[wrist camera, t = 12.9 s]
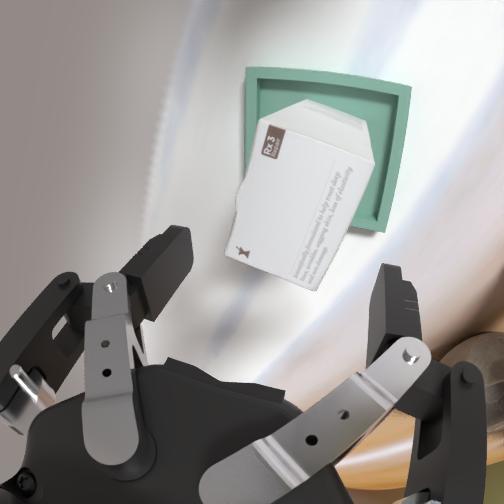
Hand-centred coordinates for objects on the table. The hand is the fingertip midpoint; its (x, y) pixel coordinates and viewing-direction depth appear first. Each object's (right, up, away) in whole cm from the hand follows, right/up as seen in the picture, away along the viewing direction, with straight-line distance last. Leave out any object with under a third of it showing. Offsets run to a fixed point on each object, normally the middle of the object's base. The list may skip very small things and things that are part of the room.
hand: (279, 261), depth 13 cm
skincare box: (+5, +10, +14) cm, 18 cm away
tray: (+6, +10, +15) cm, 19 cm away
